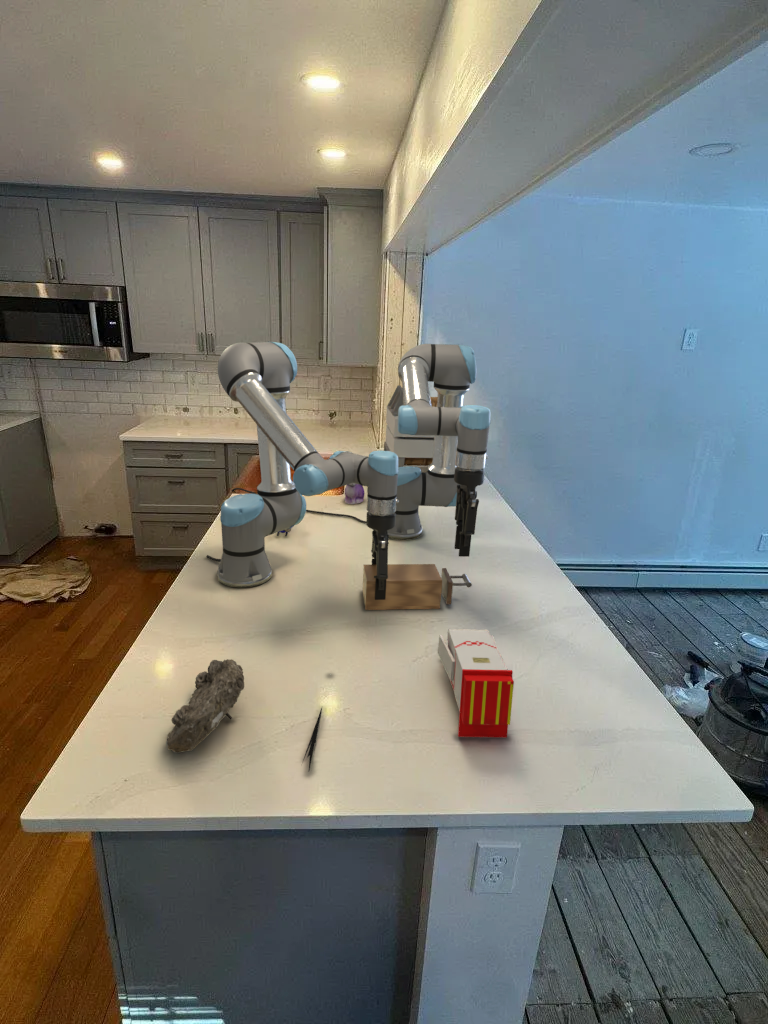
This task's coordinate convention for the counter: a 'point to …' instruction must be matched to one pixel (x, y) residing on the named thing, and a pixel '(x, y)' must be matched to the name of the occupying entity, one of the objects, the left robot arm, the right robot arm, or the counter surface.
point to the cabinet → (404, 587)
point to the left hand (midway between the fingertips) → (378, 589)
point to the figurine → (354, 493)
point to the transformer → (407, 436)
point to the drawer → (451, 584)
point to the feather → (313, 740)
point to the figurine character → (284, 531)
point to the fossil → (206, 705)
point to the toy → (478, 682)
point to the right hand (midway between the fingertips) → (461, 552)
